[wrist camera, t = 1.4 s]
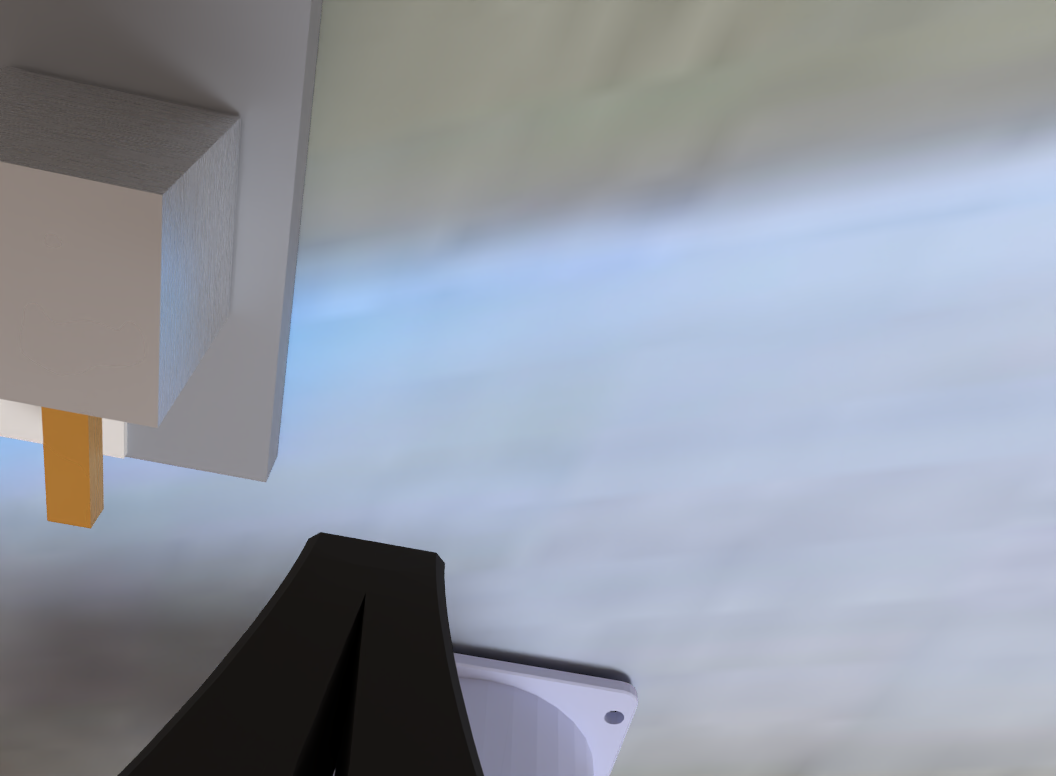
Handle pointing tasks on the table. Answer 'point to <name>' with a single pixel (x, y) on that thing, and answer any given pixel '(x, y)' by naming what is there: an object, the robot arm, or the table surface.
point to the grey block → (107, 263)
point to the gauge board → (261, 200)
